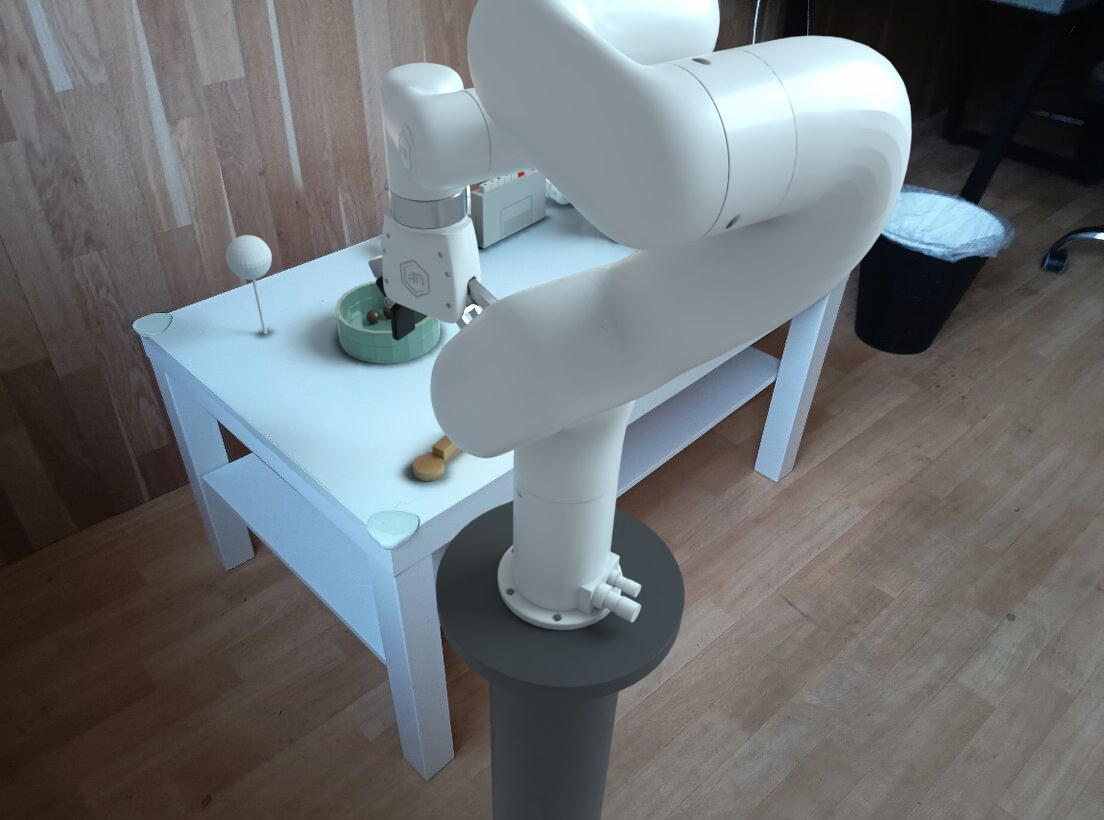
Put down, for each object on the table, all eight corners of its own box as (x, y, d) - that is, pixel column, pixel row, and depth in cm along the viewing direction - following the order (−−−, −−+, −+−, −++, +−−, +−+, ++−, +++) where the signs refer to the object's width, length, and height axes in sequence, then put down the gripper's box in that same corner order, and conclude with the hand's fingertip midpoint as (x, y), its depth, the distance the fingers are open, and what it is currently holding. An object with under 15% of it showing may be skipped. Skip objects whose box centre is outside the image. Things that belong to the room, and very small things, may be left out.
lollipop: (236, 332, 125) (213, 236, 115) (272, 317, 128) (252, 222, 118) (258, 350, 121) (236, 252, 111) (294, 334, 124) (276, 238, 114)
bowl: (459, 329, 125) (458, 298, 122) (394, 376, 116) (391, 344, 113) (386, 299, 131) (382, 270, 128) (319, 342, 123) (314, 311, 119)
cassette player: (533, 212, 153) (534, 157, 147) (545, 217, 152) (546, 161, 145) (472, 243, 145) (470, 186, 138) (483, 248, 143) (482, 190, 137)
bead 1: (383, 321, 125) (382, 309, 124) (374, 327, 124) (373, 315, 123) (373, 317, 126) (372, 305, 125) (364, 323, 125) (362, 311, 124)
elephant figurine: (508, 170, 152) (508, 187, 159) (563, 208, 151) (561, 223, 157) (533, 139, 153) (532, 157, 160) (588, 176, 152) (585, 193, 158)
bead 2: (400, 316, 127) (399, 304, 125) (391, 322, 125) (390, 310, 124) (390, 312, 127) (388, 300, 126) (380, 318, 126) (379, 306, 125)
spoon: (483, 440, 106) (482, 426, 105) (431, 485, 100) (430, 471, 98) (459, 429, 108) (459, 415, 106) (407, 473, 101) (405, 459, 100)
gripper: (337, 193, 86) (356, 338, 97) (476, 242, 78) (479, 393, 89) (387, 168, 90) (400, 309, 101) (523, 212, 83) (521, 359, 94)
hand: (437, 349), depth 95 cm, fingers open, 9 cm apart
